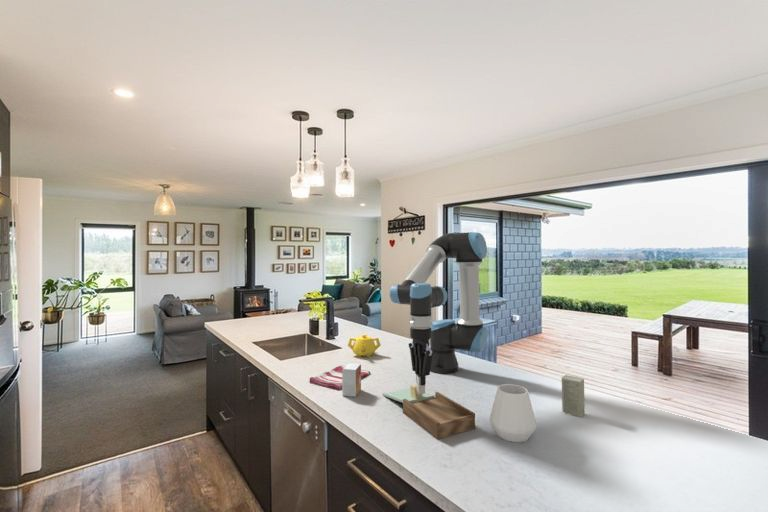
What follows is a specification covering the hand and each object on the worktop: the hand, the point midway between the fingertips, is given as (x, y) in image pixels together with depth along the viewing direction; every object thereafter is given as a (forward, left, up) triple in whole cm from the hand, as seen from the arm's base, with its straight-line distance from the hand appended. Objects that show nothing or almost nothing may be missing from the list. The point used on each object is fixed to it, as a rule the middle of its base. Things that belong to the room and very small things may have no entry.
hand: (420, 393), depth 128 cm
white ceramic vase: (-15, +28, -6) cm, 32 cm away
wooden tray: (0, +10, -6) cm, 12 cm away
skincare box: (-45, +27, -6) cm, 53 cm away
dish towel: (+14, -43, -6) cm, 46 cm away
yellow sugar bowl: (-10, -71, -6) cm, 72 cm away
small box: (+16, -25, -6) cm, 30 cm away
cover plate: (0, -8, -4) cm, 9 cm away
